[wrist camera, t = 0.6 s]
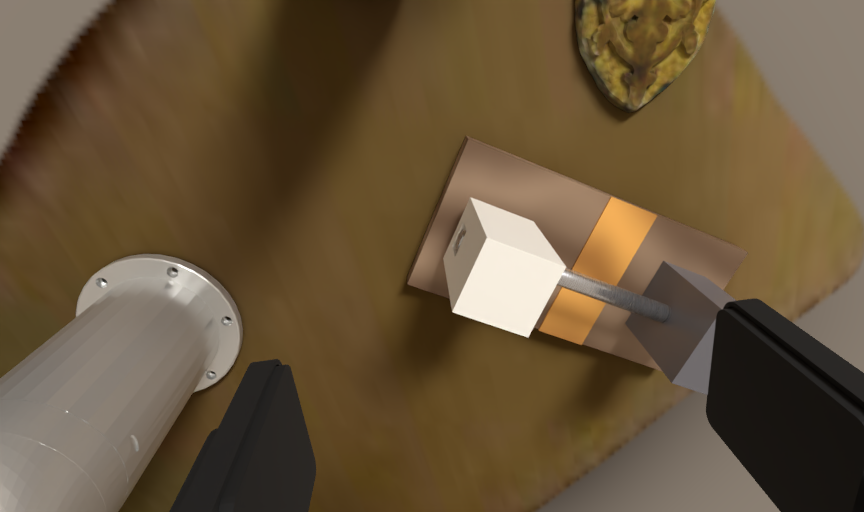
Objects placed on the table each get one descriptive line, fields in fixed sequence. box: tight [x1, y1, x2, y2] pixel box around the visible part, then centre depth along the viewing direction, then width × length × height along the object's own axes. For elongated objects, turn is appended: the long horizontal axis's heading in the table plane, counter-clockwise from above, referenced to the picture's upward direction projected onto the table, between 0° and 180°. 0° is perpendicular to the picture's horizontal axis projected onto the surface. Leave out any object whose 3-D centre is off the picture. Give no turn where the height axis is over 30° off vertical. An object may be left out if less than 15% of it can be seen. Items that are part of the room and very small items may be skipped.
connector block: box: [625, 261, 736, 395], centre depth 37 cm, size 6×4×8 cm, turn 158°
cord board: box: [407, 136, 748, 371], centre depth 40 cm, size 12×24×2 cm, turn 68°
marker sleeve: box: [443, 197, 566, 337], centre depth 33 cm, size 5×5×8 cm
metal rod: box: [455, 229, 671, 323], centre depth 36 cm, size 1×16×1 cm, turn 68°
